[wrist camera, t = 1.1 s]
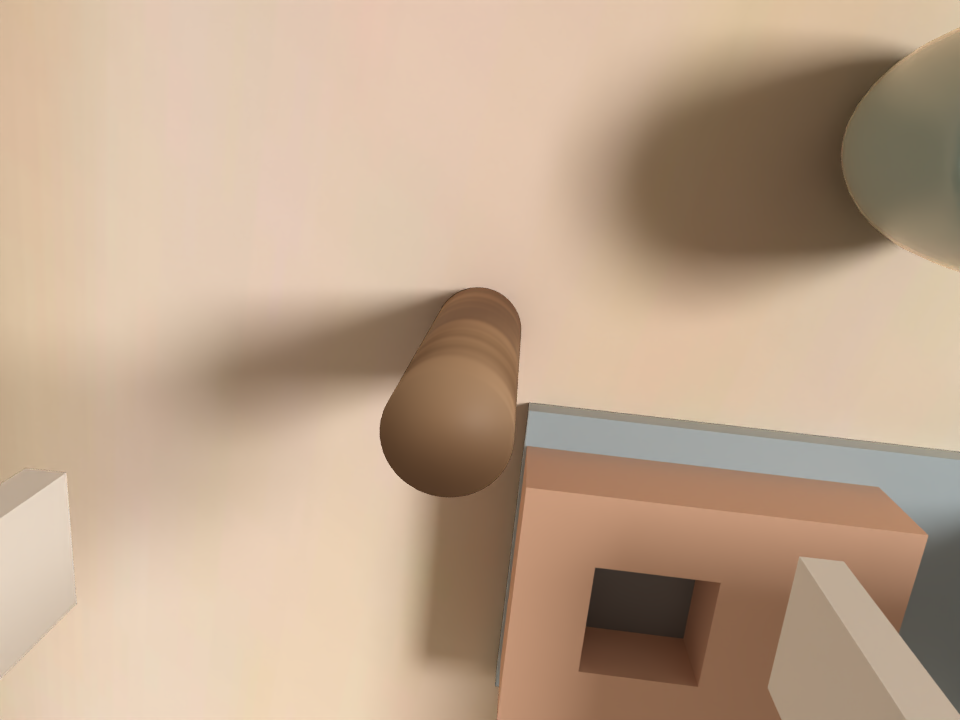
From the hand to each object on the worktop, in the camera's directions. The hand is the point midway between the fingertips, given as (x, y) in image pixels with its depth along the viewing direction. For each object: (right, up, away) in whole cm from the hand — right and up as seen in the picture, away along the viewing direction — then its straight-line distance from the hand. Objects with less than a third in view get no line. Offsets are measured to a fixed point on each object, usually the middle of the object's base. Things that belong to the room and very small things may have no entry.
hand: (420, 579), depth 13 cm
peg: (+1, +5, +18) cm, 19 cm away
